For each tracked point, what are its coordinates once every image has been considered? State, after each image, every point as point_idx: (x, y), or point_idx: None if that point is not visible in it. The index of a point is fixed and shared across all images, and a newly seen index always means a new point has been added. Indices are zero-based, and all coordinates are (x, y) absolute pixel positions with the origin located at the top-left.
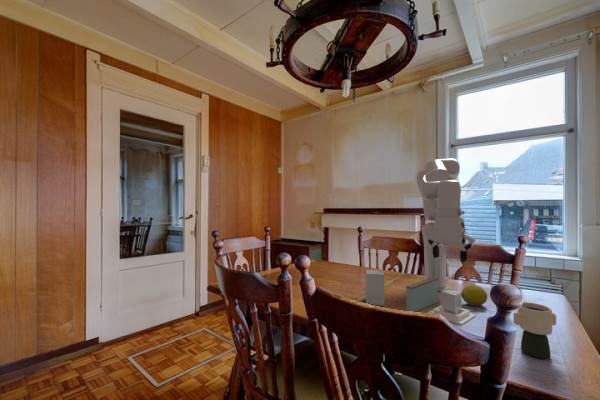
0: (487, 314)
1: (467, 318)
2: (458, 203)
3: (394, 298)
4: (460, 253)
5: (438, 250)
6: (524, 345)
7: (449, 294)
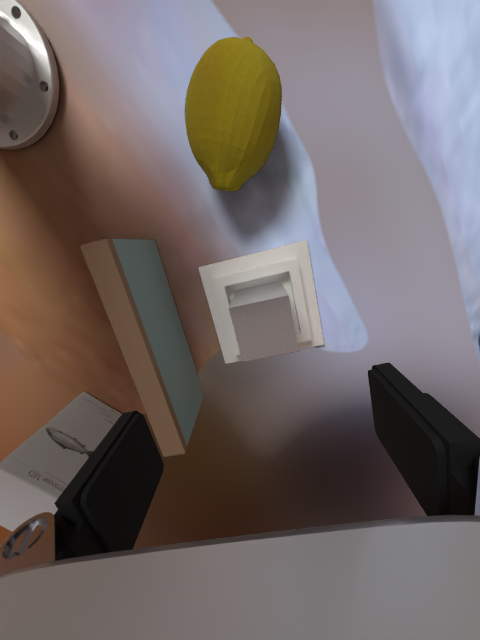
0: (315, 184)
1: (310, 295)
2: None
3: (84, 352)
4: (424, 506)
5: (114, 473)
6: None
7: (276, 354)
